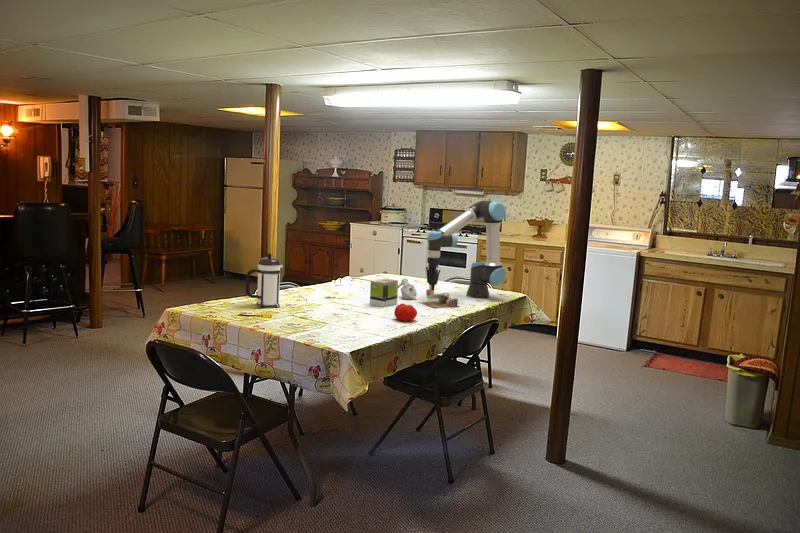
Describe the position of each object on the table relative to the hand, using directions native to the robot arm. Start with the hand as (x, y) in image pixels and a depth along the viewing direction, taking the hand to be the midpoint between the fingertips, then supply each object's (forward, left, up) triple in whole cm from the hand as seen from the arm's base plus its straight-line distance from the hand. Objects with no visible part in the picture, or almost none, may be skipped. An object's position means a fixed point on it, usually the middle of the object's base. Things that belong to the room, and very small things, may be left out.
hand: (431, 295), depth 385 cm
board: (-2, +7, -6) cm, 9 cm away
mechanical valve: (+7, -25, -6) cm, 26 cm away
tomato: (+37, +33, -6) cm, 50 cm away
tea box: (+29, -7, -6) cm, 31 cm away
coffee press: (+98, -18, -6) cm, 100 cm away
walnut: (-6, +11, -5) cm, 13 cm away
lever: (-2, +5, -4) cm, 7 cm away
